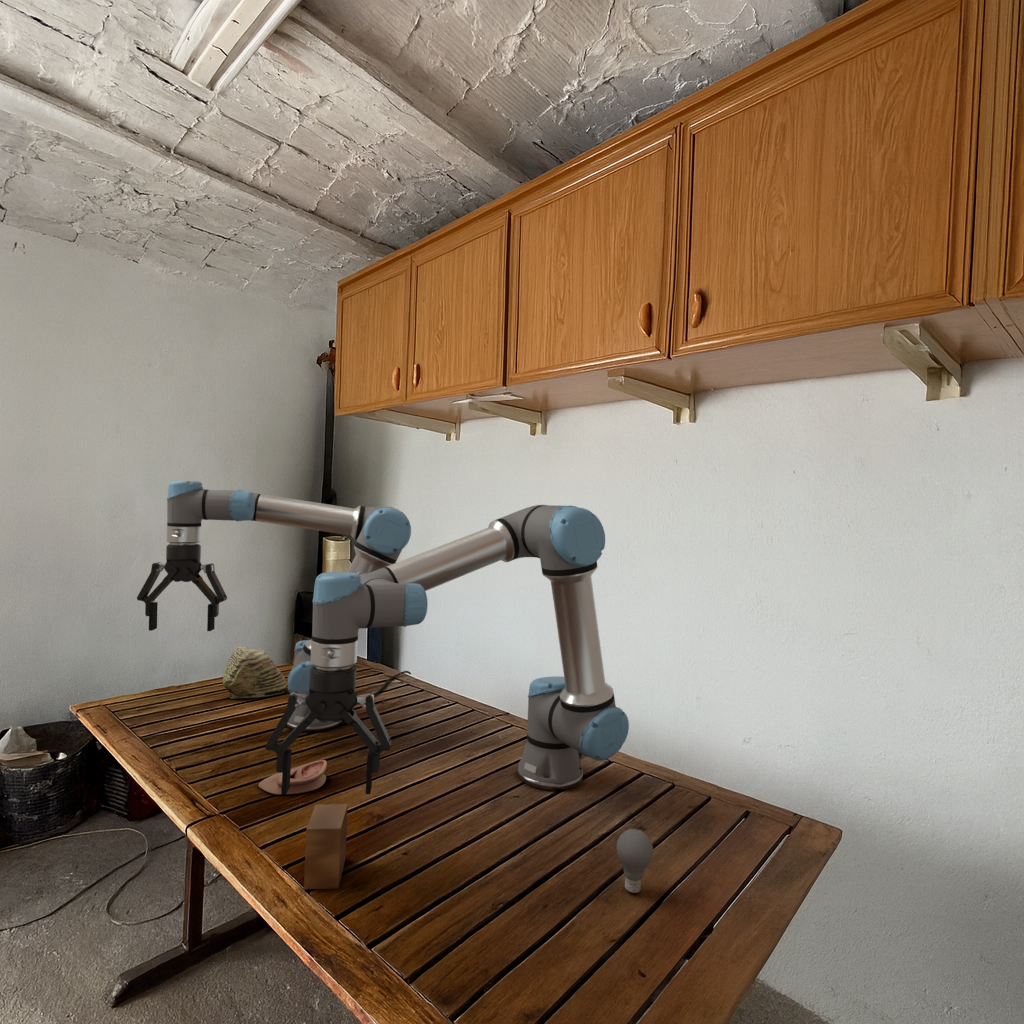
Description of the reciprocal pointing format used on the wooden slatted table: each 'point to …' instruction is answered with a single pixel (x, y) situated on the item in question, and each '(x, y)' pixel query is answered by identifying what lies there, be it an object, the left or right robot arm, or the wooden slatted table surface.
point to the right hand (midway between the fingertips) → (327, 790)
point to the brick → (325, 846)
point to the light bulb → (634, 857)
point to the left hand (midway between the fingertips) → (181, 629)
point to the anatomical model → (298, 779)
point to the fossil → (252, 674)
